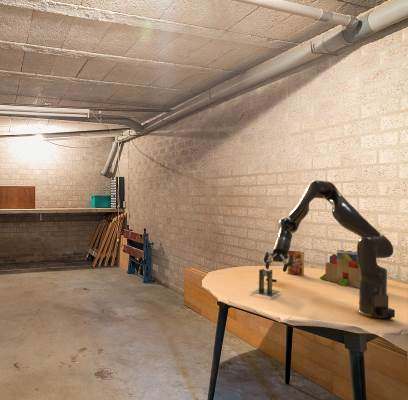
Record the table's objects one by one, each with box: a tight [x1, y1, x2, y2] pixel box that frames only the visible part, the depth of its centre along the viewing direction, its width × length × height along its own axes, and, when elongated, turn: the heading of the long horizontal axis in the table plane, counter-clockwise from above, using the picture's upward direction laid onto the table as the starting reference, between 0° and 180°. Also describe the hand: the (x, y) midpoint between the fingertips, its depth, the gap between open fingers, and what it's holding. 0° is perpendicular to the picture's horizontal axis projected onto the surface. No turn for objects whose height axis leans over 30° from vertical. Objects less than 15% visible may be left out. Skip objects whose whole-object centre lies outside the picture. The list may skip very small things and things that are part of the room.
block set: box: [319, 252, 360, 289], centre depth 200 cm, size 28×14×19 cm, turn 21°
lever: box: [262, 269, 278, 283], centre depth 177 cm, size 12×5×2 cm, turn 137°
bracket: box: [250, 268, 281, 298], centre depth 174 cm, size 13×10×13 cm
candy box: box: [287, 249, 305, 276], centre depth 224 cm, size 9×4×15 cm, turn 43°
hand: (275, 269), depth 185 cm, fingers open, 8 cm apart
